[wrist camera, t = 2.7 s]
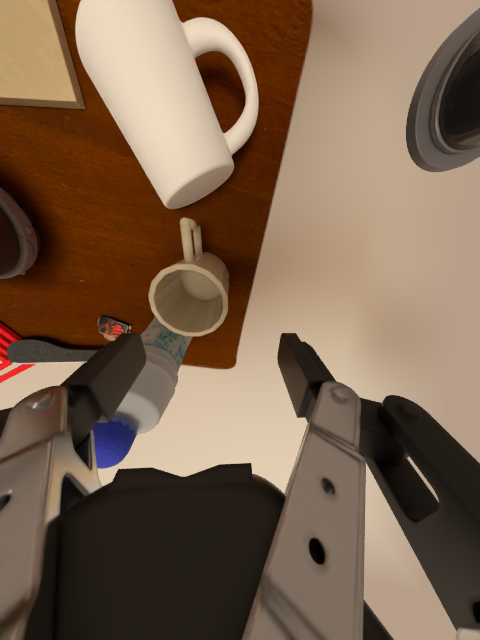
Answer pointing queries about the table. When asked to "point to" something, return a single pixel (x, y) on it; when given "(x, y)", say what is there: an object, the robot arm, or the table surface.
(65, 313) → the table surface
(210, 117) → the mug
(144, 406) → the bottle
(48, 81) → the stand
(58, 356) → the hand tool
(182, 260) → the cup
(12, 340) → the maze puzzle
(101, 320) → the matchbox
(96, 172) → the table surface
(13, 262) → the flowerpot
